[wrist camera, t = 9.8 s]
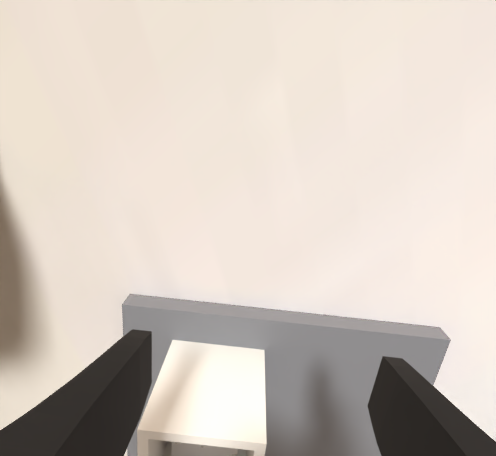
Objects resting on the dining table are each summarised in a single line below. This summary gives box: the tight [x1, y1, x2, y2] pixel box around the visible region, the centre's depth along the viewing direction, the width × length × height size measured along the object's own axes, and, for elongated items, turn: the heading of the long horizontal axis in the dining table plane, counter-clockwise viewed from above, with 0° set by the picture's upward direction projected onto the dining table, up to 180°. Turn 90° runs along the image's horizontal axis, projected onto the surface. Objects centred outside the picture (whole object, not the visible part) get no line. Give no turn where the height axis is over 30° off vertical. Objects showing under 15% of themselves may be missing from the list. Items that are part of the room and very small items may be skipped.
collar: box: [137, 340, 267, 456], centre depth 18 cm, size 6×6×6 cm
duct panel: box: [122, 294, 451, 456], centre depth 22 cm, size 20×16×1 cm
